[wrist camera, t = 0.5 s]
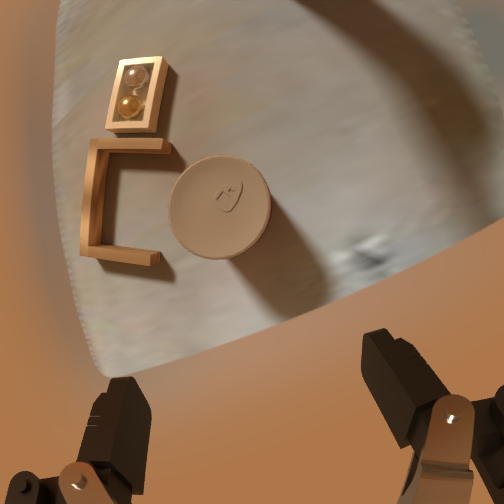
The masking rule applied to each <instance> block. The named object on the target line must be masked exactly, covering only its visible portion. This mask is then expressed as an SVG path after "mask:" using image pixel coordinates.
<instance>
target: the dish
mask: <svg viewBox="0 0 504 504" xmlns="http://www.w3.org/2000/svg"><path fill="white" fill-rule="evenodd" d="M168 65H169V64H168V63H167V62H166V60H165V59H164V58H163V56H160V57H147V58H136V59H127V60H120V63H119V67H118V71H117V75H116V79H115V83H114V87H113V91H112V96H111V100H110V105H109V110H108V115H107V120H106V125H105V129H106V130H109V131H111V132H113V133H156V128H157V122H158V116H159V110H160V105H161V99H162V94H163V89H164V84H165V79H166V75H167V70H168ZM134 66H143V67H145V68H146V69H147V70H148V72H149V75H150V78H149V82H148V84H147V85H146V86H145V87H144V88H142V89H139V90H133V89H130V88H128V87H127V86H126V84H125V81H124V78H125V74H126V72H127V71H128V70H129V69H130V68H132V67H134ZM127 95H137V96H138V97H140V98H141V99H142V101H143V105H144V108H143V111H142V113H141V115H140V116H139V117H137V118H136V119H133V120H126V119H124V118H122V117H121V116H120V114H119V112H118V104H119V102H120V101H121V99H122V98H123V97H125V96H127Z"/></svg>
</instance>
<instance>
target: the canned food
mask: <svg viewBox="0 0 504 504" xmlns="http://www.w3.org/2000/svg"><path fill="white" fill-rule="evenodd" d="M271 212H272V202H271V195H270V191H269V188H268V186H267V183H266V181H265V179H264V178H263V176H262V175H261V173H260V172H259V171H258V170H257V169H256V168H255V167H254V166H253V165H252V164H250V163H248V162H246V161H245V160H243V159H241V158H237V157H234V156H230V155H214V156H209V157H206V158H203V159H201V160H199V161H197V162H195V163H193V164H192V165H191V166H189V167H188V168H187V169H186V170H185V171H184V172H183V173H182V174H181V175H180V176H179V177H178V179H177V181H176V183H175V184H174V186H173V188H172V191H171V194H170V197H169V203H168V218H169V222H170V226H171V229H172V231H173V234H174V236H175V237H176V238H177V240H178V241H179V243H180V244H181V245H182V246H183V247H184V248H185V249H186V250H188V251H189V252H191V253H193V254H194V255H197V256H199V257H202V258H206V259H212V260H219V259H227V258H231V257H235V256H237V255H239V254H241V253H243V252H245V251H246V250H248V249H249V248H250V247H252V246H253V245H254V244H255V243H256V242H257V241H258V240H259V238H260V237H261V236H262V234H263V233H264V231H265V229H266V227H267V225H268V223H269V220H270V217H271Z"/></svg>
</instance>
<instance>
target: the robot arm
mask: <svg viewBox="0 0 504 504" xmlns="http://www.w3.org/2000/svg"><path fill="white" fill-rule="evenodd" d="M361 358H362V359H361V371H362V375H363V378H364V381H365V383H366V385H367V386H368V388H369V390H370V392H371V394H372V396H373V398H374V399H375V401H376V403H377V405H378V407H379V409H380V411H381V413H382V414H383V416H384V418H385V420H386V422H387V424H388V426H389V428H390V430H391V431H392V433H393V435H394V437H395V439H396V441H397V443H398V445H399V447H400V449H402V448H404V447H406V446H409V445H411V446H412V448H413V450H414V452H413V455H412V459H411V463H410V466H409V469H408V473H407V476H406V479H405V482H404V486H403V488H402V491H401V494H400V497H399V500H398V502H397V504H469V501H470V496H471V490H472V485H473V478H474V474H473V471H472V470H469V462H470V459H472V460H473V462H474V464H475V466H476V468H477V470H478V472H479V474H480V476H481V478H482V479H483V482H484V484H485V486H486V488H487V490H488V492H489V494H490V496H491V498H492V500H493V502H494V504H504V385H503V386H501V387H500V388H499V389H498V391H497V392H496V394H495V396H494V397H493V398H488V399H483V400H479V401H472V402H470V401H469V400H468V399H467V398H465V397H463V396H460V395H454V394H451V393H450V392H449V391H448V390H447V388H446V387H445V386H444V384H443V383H442V382H441V380H440V379H439V378H438V377H437V375H436V374H435V372H434V371H433V370H432V369H431V367H430V366H429V365H428V364H427V363H426V361H425V360H424V359H423V357H422V356H420V353H419V352H418V351H417V350H416V348H415V347H414V346H413V345H412V344H410V343H409V342H407V341H405V340H403V339H402V338H399V339H396V340H394V338H393V337H392V336H391V334H390V333H389V332H388V330H387V329H385V328H382V329H379V330H376V331H372V332H369V333H365V334H364V335H363V343H362V357H361ZM151 420H152V418H151V409H150V406H149V404H148V402H147V400H146V398H145V397H144V395H143V393H142V391H141V389H140V388H139V386H138V384H137V382H136V380H135V379H134V378H133V377H131V376H130V377H119V378H112V379H111V380H110V383H109V387H108V390H107V393H101V394H100V396H99V397H98V398H97V399H96V401H95V402H94V403H93V406H92V410H91V413H90V417H89V419H88V423H87V427H86V429H85V433H84V436H83V440H82V443H81V447H80V451H79V454H78V458H77V461H76V462H74V463H71V464H69V465H68V466H66V467H65V468H64V469H63V470H62V472H61V474H60V476H57V477H51V478H46V479H39V478H38V477H37V476H35V475H34V474H33V473H31V472H29V471H22V472H19V473H17V474H16V475H15V476H14V477H13V478H12V480H11V481H10V484H9V488H8V492H7V496H6V500H5V504H132V503H131V498H132V494H133V495H143V490H144V481H145V470H146V460H147V452H148V444H149V436H150V427H151Z"/></svg>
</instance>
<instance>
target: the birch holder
mask: <svg viewBox="0 0 504 504" xmlns="http://www.w3.org/2000/svg"><path fill="white" fill-rule="evenodd" d="M171 147H172V144H171V143H170V142H168V141H167V140H165V139H164V138H103V139H91V140H90V146H89V153H88V159H87V167H86V174H85V183H84V192H83V203H82V215H81V231H80V256H85V257H92V258H98V259H105V260H111V261H118V262H124V263H131V264H138V265H145V266H152V265H154V264H156V263H159V262H160V251H152V250H144V249H136V248H129V247H121V246H113V245H106V244H101V233H102V219H103V206H104V196H105V186H106V178H107V170H108V162H109V155H110V153H148V154H171Z"/></svg>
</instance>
